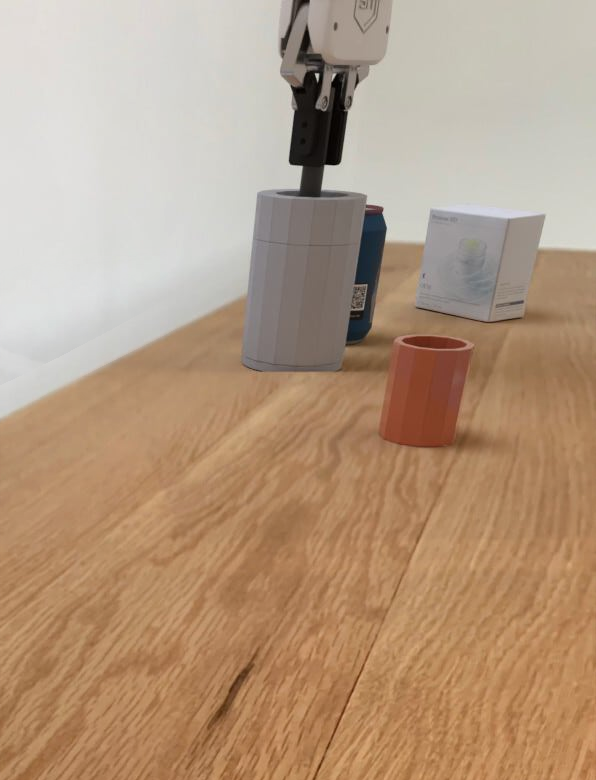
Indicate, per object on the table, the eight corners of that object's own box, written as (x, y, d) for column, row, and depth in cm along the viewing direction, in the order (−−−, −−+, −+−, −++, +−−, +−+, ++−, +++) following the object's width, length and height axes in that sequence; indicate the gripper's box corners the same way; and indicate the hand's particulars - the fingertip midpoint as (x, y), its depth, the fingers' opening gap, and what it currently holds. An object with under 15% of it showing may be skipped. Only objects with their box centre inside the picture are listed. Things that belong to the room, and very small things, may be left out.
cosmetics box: (410, 307, 126) (428, 205, 120) (449, 302, 129) (467, 202, 123) (486, 323, 118) (509, 215, 113) (525, 317, 121) (549, 212, 116)
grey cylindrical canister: (326, 353, 105) (349, 189, 98) (353, 375, 97) (380, 199, 90) (232, 353, 105) (248, 188, 97) (252, 375, 97) (271, 198, 90)
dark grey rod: (306, 316, 101) (337, 87, 91) (315, 323, 98) (349, 88, 89) (271, 316, 101) (299, 86, 91) (279, 323, 98) (309, 87, 88)
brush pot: (437, 432, 82) (457, 334, 79) (464, 453, 78) (485, 350, 74) (369, 433, 82) (385, 334, 78) (391, 453, 77) (409, 350, 74)
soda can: (287, 332, 113) (303, 202, 107) (349, 330, 114) (368, 202, 108) (316, 347, 107) (335, 210, 101) (382, 344, 109) (404, 209, 102)
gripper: (341, -127, 76) (304, 173, 86) (442, -103, 86) (399, 163, 96) (248, -118, 80) (223, 167, 90) (355, -96, 90) (322, 158, 100)
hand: (314, 163), depth 93 cm, fingers closed on dark grey rod
